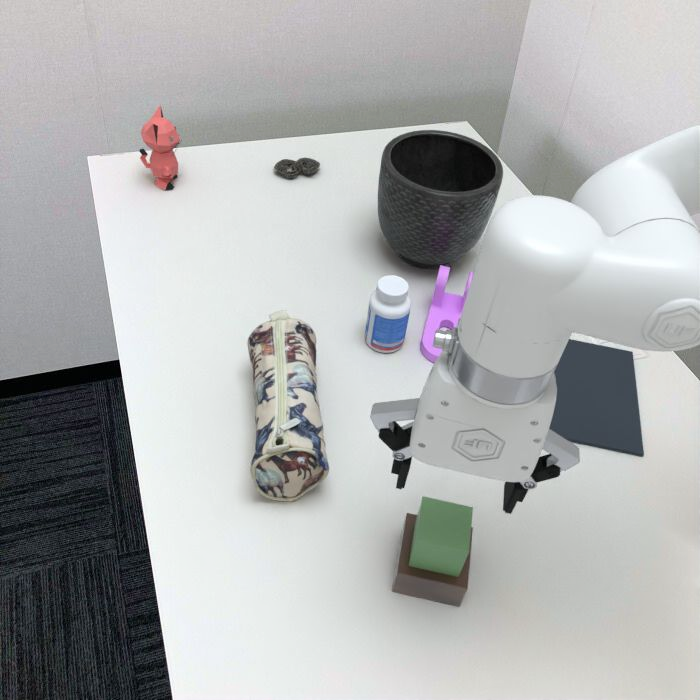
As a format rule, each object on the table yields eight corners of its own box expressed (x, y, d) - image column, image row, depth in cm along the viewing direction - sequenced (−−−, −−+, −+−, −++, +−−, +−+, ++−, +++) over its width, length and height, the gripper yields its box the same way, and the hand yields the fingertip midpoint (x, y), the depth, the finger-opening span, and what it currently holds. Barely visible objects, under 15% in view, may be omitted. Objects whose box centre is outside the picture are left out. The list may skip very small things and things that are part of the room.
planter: (466, 300, 107) (491, 209, 96) (354, 267, 110) (366, 175, 98) (488, 234, 119) (513, 146, 107) (387, 207, 121) (401, 118, 110)
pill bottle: (411, 345, 100) (423, 291, 93) (379, 359, 97) (389, 305, 90) (388, 320, 102) (397, 266, 95) (356, 333, 100) (363, 279, 93)
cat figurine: (181, 195, 118) (175, 127, 110) (138, 191, 118) (128, 123, 109) (188, 171, 123) (183, 104, 115) (147, 167, 123) (138, 100, 114)
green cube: (462, 533, 76) (473, 507, 72) (458, 577, 72) (469, 552, 69) (414, 522, 76) (422, 496, 72) (408, 566, 73) (416, 540, 69)
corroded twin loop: (323, 176, 126) (324, 171, 125) (278, 181, 123) (278, 175, 123) (315, 160, 129) (315, 155, 128) (270, 165, 127) (270, 159, 126)
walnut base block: (465, 546, 79) (473, 526, 76) (459, 607, 74) (467, 589, 71) (401, 532, 80) (406, 512, 77) (391, 591, 75) (396, 573, 72)
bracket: (433, 297, 107) (441, 259, 102) (470, 305, 106) (481, 268, 101) (417, 359, 98) (425, 321, 93) (458, 369, 97) (469, 331, 92)
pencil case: (327, 503, 81) (334, 450, 74) (250, 506, 80) (249, 453, 73) (313, 358, 96) (317, 303, 89) (247, 359, 95) (246, 304, 88)
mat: (631, 354, 102) (632, 351, 102) (642, 456, 90) (644, 454, 90) (503, 328, 104) (504, 325, 103) (496, 426, 91) (497, 423, 91)
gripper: (378, 369, 52) (352, 501, 64) (624, 421, 51) (549, 546, 63) (394, 300, 57) (367, 434, 69) (617, 346, 56) (549, 475, 68)
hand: (454, 487), depth 66 cm, fingers open, 9 cm apart
